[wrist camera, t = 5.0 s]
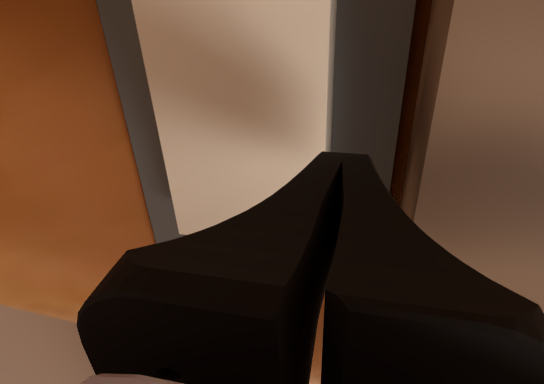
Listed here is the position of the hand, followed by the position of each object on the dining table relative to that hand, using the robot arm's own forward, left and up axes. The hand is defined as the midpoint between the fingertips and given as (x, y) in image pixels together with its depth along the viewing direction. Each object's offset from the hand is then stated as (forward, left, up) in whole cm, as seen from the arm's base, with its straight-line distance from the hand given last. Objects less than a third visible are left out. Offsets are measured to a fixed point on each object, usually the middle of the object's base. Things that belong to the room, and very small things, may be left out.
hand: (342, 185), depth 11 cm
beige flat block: (0, +4, -2) cm, 4 cm away
